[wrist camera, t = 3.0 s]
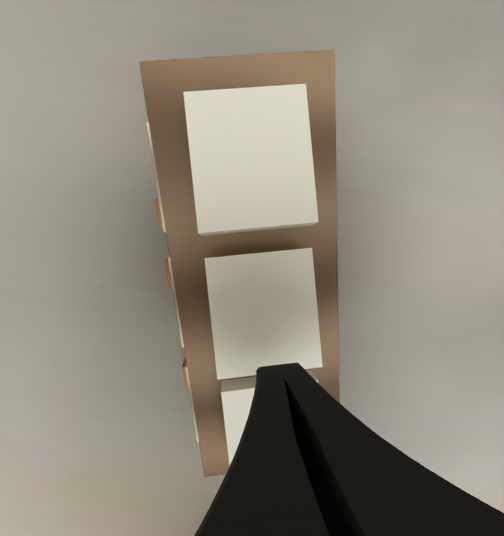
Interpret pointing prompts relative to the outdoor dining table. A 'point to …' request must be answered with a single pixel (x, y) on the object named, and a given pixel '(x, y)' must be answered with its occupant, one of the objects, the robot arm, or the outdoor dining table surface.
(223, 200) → the switch
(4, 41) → the outdoor dining table surface
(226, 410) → the switch
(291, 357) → the switch
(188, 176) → the switch unit
